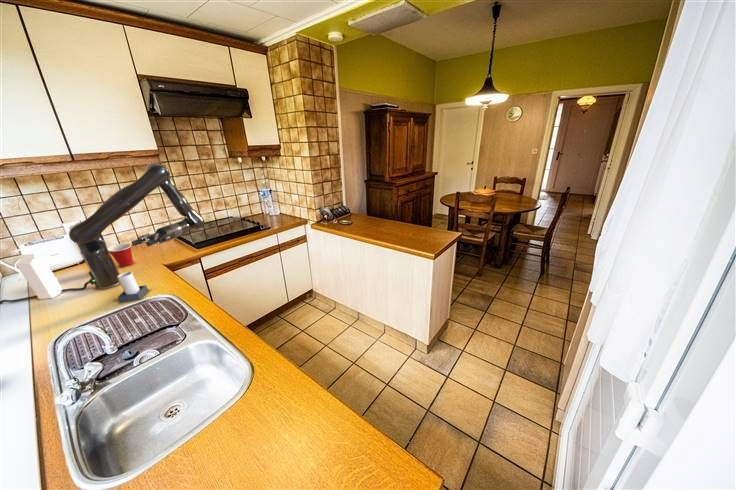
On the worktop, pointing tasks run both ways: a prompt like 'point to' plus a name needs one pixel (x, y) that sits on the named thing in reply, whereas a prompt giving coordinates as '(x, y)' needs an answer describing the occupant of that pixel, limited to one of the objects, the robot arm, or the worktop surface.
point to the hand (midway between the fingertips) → (139, 244)
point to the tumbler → (128, 283)
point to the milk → (39, 276)
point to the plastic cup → (122, 254)
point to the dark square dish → (133, 295)
